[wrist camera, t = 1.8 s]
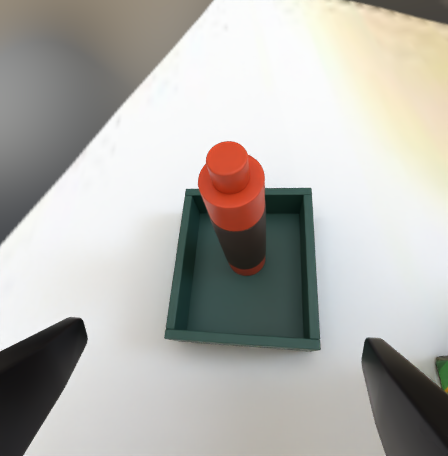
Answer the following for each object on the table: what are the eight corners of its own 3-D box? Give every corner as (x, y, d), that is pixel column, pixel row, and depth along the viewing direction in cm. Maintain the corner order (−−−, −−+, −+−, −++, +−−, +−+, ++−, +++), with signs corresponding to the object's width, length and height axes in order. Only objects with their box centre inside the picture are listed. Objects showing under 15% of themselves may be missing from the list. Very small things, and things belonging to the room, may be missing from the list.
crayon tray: (311, 351, 20) (320, 350, 17) (179, 341, 22) (163, 338, 18) (305, 210, 25) (311, 187, 21) (196, 210, 26) (185, 188, 23)
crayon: (264, 278, 22) (262, 192, 11) (225, 275, 23) (182, 189, 11) (267, 241, 24) (268, 127, 12) (229, 238, 24) (195, 127, 12)
